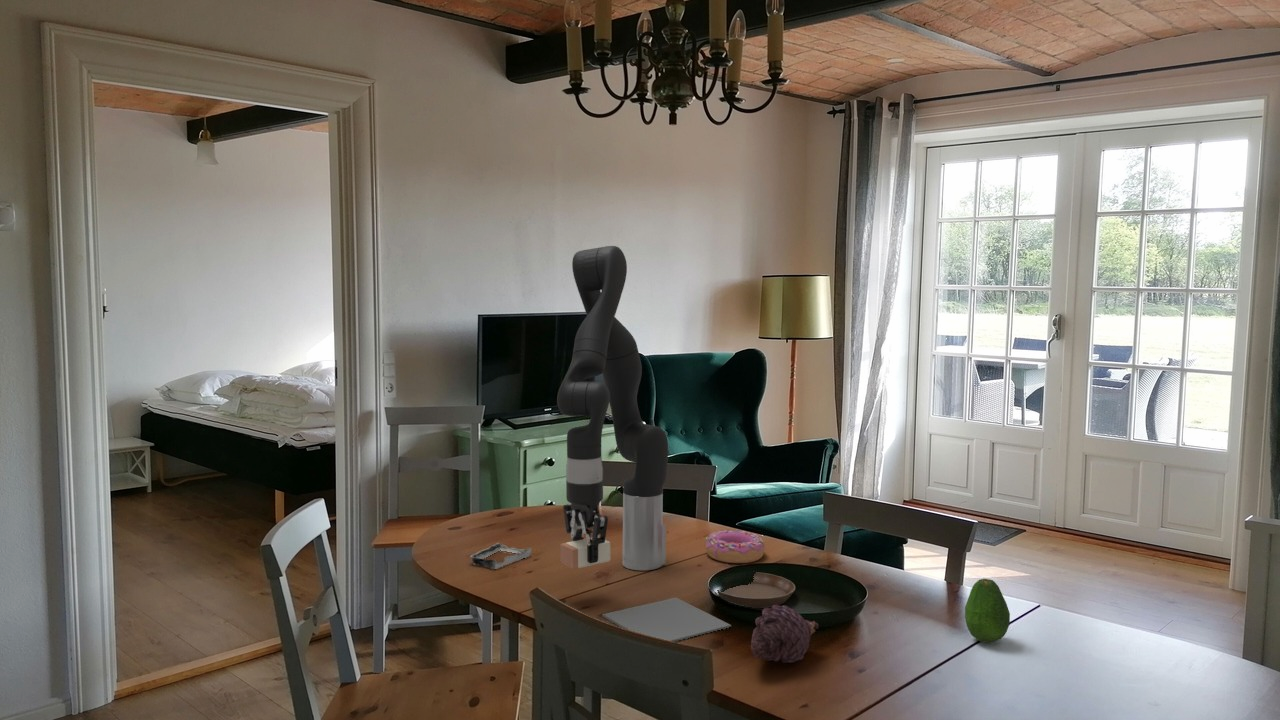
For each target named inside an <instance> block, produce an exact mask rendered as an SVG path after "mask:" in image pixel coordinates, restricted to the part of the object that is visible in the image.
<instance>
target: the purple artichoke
mask: <svg viewBox="0 0 1280 720" xmlns="http://www.w3.org/2000/svg"><path fill="white" fill-rule="evenodd" d="M754 624H755V627H754V628H753V631H752V635H751V644H750V649H751V652H752V654H753V655H754V658H755V659H759V660H765V661H773V662H778V661H781V662H782V663H784V664H786V663H791V664H792V663H795V662H797V661H801V660H803V659H804V657H805V654H806V653H807V651H808V648H809V647H810V641H811V638H812V635H813V634H814V633H815V632H816V630H818V629H819V623H818V622H816V621H815V620H813V621H810V620H807V619H804V617H803V616H802V615H801V614H800V613H799V612H798V611H796V609H794V608H791V607H790V606H788V605H773V606H772V607H768V608H762V610H761V615H760V616H757V617H756V618H755V621H754Z"/></svg>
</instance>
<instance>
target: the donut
mask: <svg viewBox="0 0 1280 720" xmlns="http://www.w3.org/2000/svg"><path fill="white" fill-rule="evenodd" d="M704 545H705V551H706V554H707V555H708V556H709V557H710V558H711V559H713V560H716V561H718V562H723V563H729V564H747V563H752V562H757V561H758V560H760V559H762V557H763V556H764V554H765V547H766V546H765V542H764V540H763V538H762V536H759V535H757V534H755V533H752V532H748V531H744V530H736V529H733V530H731V529H730V530H729V529H727V530H721V531H714V532H712V533H710V534H708V535H707V536H706V537H705V544H704Z"/></svg>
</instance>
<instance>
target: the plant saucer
mask: <svg viewBox="0 0 1280 720" xmlns="http://www.w3.org/2000/svg"><path fill="white" fill-rule="evenodd" d="M753 577H754V578H753V579H754V580H753V582H751V584H750V583H749V584H748V585H740V586H736V587H733V588H729V589H727V590H725V591H724V592H721V591H719V590H717V591H718V593H719V595H720V596H721V597H722V598H724V599H726V600H727V601H730V602H733V603H736V604H739V605H744V606H747V607H752V608H751V609H764V608H772V606H773V605H779V606H781V605H782V604H784V603H785V602H786V601H787V600H788V599H789V598H790V597H791V596H792V595H793V593H794V592H795V591H796V585H795V584H794V582H792V581H791V580H790V579H787V578H785V577H783V576H779V575H776V574H772V573H766V572H759V571H758V572H757V571H756V573H755V574H754V576H753ZM747 607H746V608H747Z"/></svg>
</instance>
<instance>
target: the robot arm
mask: <svg viewBox="0 0 1280 720" xmlns="http://www.w3.org/2000/svg"><path fill="white" fill-rule="evenodd" d="M572 257H573V258H572V264H571V265H572V266H571V267H572V274H573V279H574V282H575V285H576V288H577V291H578V294H579V297H580V300H581V302H582V305H583V308H584V310H585V315H586V316H585V317H584V319H583V321H582V322H581V324H580V325H579V327H578V329H577V331H576V334H575V338H574V343H573V345H574V346H573V349H572V357H571V362H570V364H569V367H568V370H567V372H566V374H565V376H564V378H563V380H562V382H561V385H560V386H559V388H558V392H557V397H556V404H557V408H558V409H559V411H560V412H561V414H563V415H564V416H570V417H571V416H572V417H574V416H575V417H590V420H589V422H588V424H585V425H581V426H576V427H572V428H570V429H569V430H568V431H567V434H566V452H567V453H566V457H567V458H566V465H565V483H566V484H565V487H566V488H565V489H566V491H565V492H566V501H567V502H568V503H567V504H564V505H563V506H562V507H563V508H562V509H563V517H564V524H565V532H566V534H570V538H571V539H572V541H578V540H583V539H586V540H587V544H588V545H587V561H588V563H595V562H597V561H598V545H599V544H601V543H604V542H605V540H606V535H607V529H608V522H609V517H608V516H607V515H604V516H602V515H601V514H600V509H599V504H600V503H601V502H602V501H603V499H604V467H603V460H602V435H603V428H604V424H605V419H606V414H607V412H608V409H609V406H610V411H611V416H612V422H613V423H612V424H613V432H614V438H615V443H616V448H617V450H618V453H619V454H620V456H621V457H622V458H623V459H624V460H627V461H629V462H630V463H631V462H632V463H635V469H634V470H635V471H634V472H635V473H634V475H633V476H629V477H628V478H626V479H625V480H624V481H623V485H622V487H623V488H622V489H623V491H622V492H623V494H622V566H623V567H624V568H625V569H628V570H629V569H630V570H631V571H632V570H634V571H651V570H656V569H659V568H661V567H662V566H665V565H666V552H667V551H666V543H667V540H666V538H667V532H666V531H667V527H666V524H665V523H663V510H664V509H663V505H664V504H663V500H664V499H663V498H664V497H663V496H664V494H663V493H664V486H665V482H666V480H667V474H668V460H669V457H668V456H669V442H668V440H669V439H668V436H667V434H666V432H665V430H663V429H662V428H661V427H660V426H656V425H652V424H646V423H644V422H643V419H642V418H641V414H640V409H639V406H638V405H639V404H638V398H637V397H638V392H639V387H640V383H641V378H642V373H643V369H642V368H643V365H642V361H641V356H640V352H639V349H638V345H637V341H636V339H635V337H634V336H633V334H632V333H631V332H630V331H629V330H628V329H627V327H626V326H624V325H623V323H622V322H620V321H619V319H617V317H616V313H617V310H618V308H619V304H620V301H621V298H622V294H623V291H624V288H625V283H626V281H627V280H626V279H627V273H628V270H627V268H628V264H627V263H628V262H627V260H626V256H625V254H624V252H623V251H622V249H621V248H620V247H619V246H616V245H606V246H605V245H604V246H601V247H600V246H599V247H594V248H590V249H583V250H579V251H576V252H575V253H574V255H573V256H572ZM601 375H602V378H603V382H604V383H603V382H601V381H586V380H587V379H590V378H594V377H598V376H601ZM591 534H592V535H591ZM584 536H585V538H584ZM591 538H592V539H591Z"/></svg>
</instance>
